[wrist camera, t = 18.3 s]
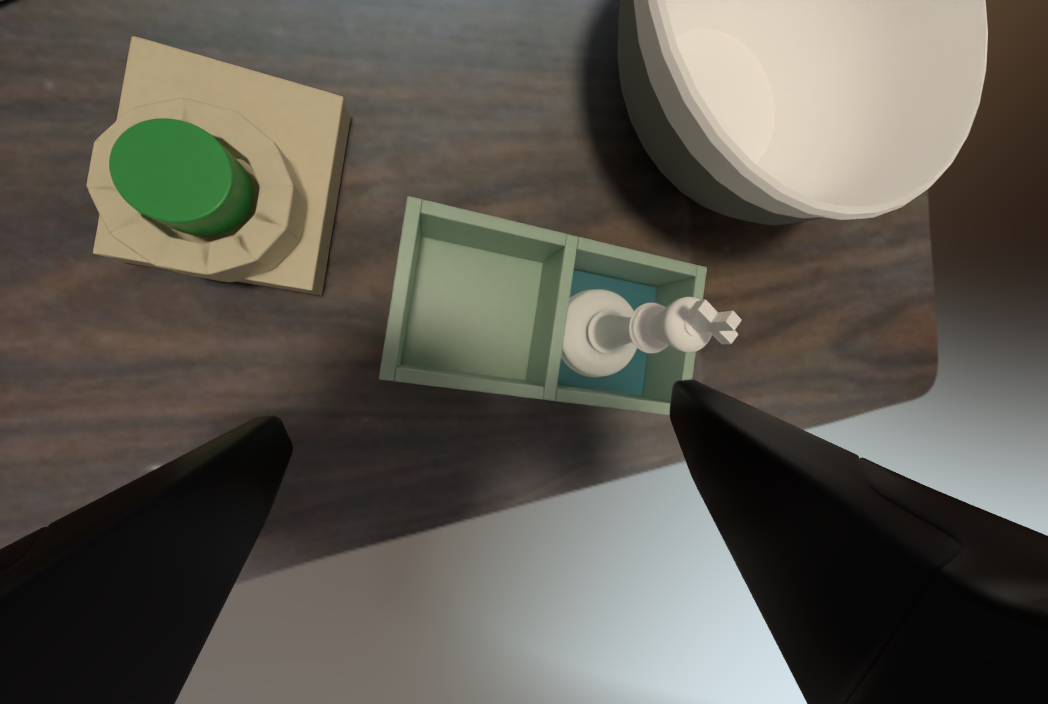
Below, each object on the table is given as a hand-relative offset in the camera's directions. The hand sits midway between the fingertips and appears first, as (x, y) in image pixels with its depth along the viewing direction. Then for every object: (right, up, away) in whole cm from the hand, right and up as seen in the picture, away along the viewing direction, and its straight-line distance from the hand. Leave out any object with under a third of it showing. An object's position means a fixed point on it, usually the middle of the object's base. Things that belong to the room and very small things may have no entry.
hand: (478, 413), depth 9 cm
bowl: (+12, +17, +16) cm, 26 cm away
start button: (-12, +8, +6) cm, 15 cm away
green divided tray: (+2, +3, +13) cm, 13 cm away
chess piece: (+5, +2, +13) cm, 14 cm away
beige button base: (-12, +9, +9) cm, 18 cm away
